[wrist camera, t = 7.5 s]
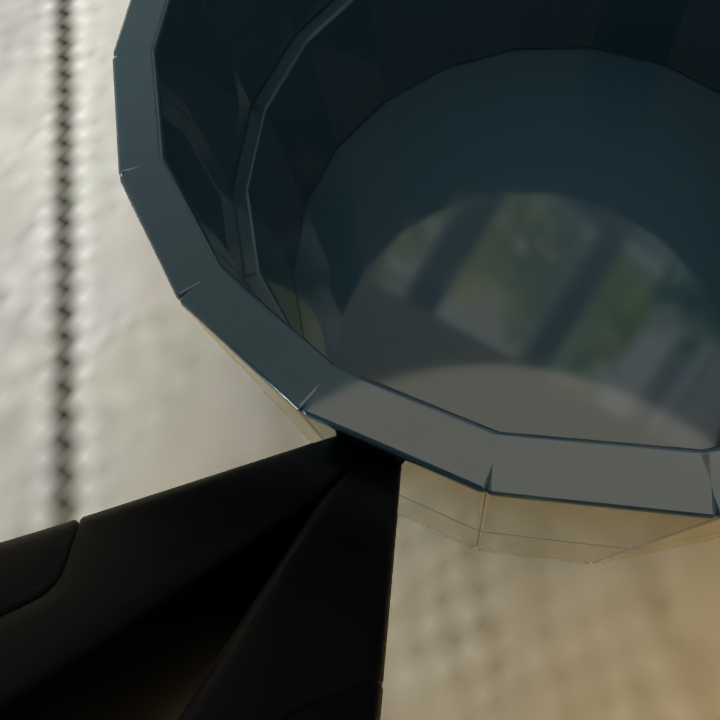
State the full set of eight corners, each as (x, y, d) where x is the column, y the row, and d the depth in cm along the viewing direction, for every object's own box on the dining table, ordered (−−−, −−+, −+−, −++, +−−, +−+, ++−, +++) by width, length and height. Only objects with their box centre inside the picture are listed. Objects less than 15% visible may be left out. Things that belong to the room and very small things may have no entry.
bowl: (443, 693, 13) (415, 798, 6) (184, 201, 19) (0, -65, 11) (1018, 350, 14) (1632, 62, 7) (609, -32, 19) (697, -427, 12)
